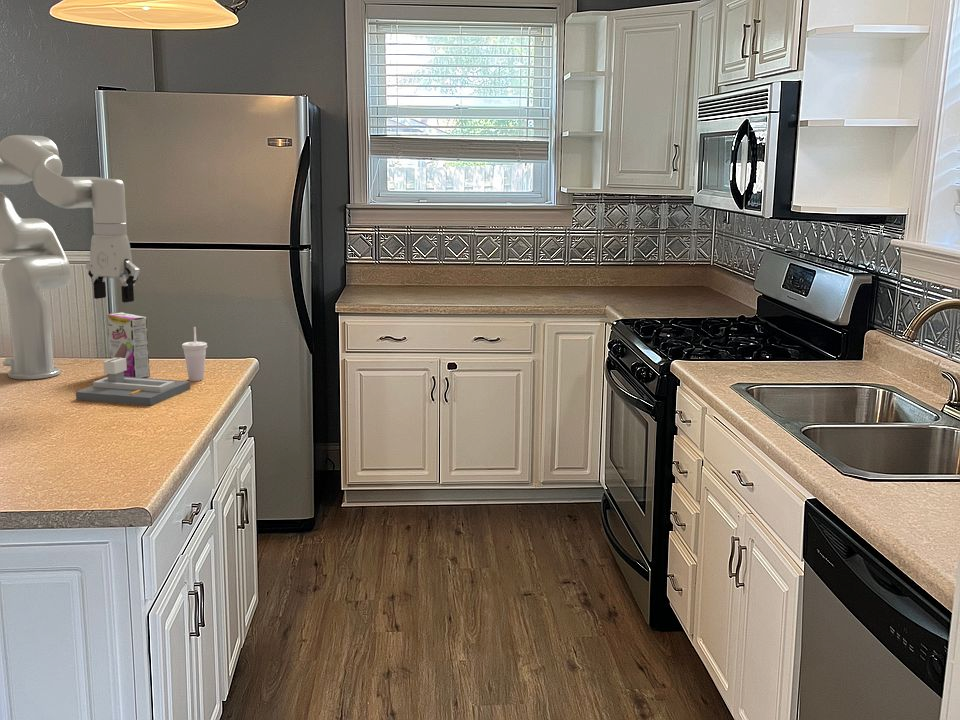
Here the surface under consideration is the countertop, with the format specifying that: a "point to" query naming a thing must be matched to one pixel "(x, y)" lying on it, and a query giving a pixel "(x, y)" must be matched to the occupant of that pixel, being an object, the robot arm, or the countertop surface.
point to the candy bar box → (129, 342)
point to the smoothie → (195, 358)
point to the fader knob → (115, 369)
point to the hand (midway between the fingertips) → (114, 299)
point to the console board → (133, 391)
